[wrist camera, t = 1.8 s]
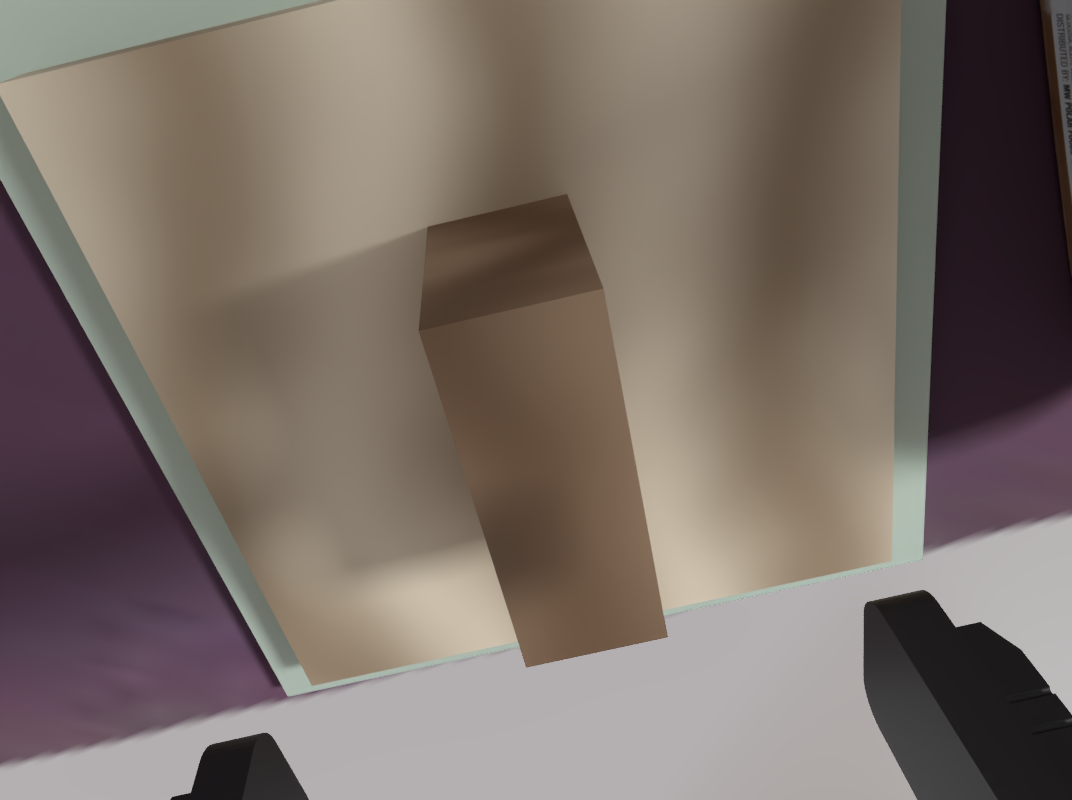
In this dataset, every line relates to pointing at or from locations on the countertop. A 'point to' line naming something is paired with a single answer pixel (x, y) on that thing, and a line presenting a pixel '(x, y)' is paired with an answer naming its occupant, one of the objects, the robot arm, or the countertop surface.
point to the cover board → (337, 266)
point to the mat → (198, 3)
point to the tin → (1060, 96)
